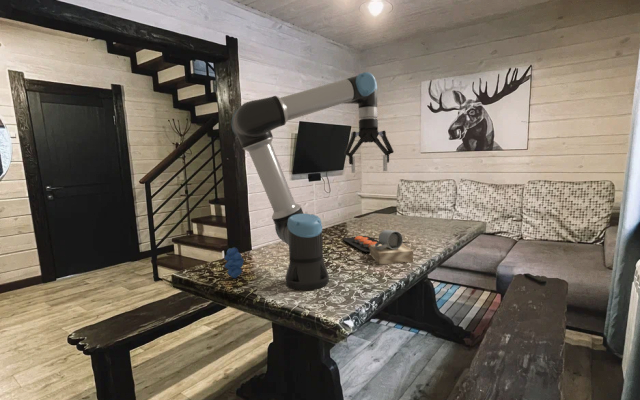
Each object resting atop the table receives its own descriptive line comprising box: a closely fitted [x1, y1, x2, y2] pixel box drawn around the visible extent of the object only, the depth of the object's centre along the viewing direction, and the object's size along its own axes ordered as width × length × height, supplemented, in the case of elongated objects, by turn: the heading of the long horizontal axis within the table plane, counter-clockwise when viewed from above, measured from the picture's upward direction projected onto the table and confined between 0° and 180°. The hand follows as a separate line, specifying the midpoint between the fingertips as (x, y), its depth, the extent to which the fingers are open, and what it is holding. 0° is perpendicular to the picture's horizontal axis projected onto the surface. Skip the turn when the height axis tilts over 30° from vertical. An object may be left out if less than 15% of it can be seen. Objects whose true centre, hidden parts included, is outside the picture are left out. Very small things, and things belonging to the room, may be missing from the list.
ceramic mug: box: [375, 229, 404, 250], centre depth 139 cm, size 11×8×8 cm
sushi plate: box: [342, 235, 409, 253], centre depth 164 cm, size 29×30×4 cm
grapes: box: [224, 246, 245, 279], centre depth 123 cm, size 12×7×12 cm, turn 41°
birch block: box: [369, 243, 414, 265], centre depth 140 cm, size 14×14×5 cm
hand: (369, 171), depth 136 cm, fingers open, 13 cm apart
